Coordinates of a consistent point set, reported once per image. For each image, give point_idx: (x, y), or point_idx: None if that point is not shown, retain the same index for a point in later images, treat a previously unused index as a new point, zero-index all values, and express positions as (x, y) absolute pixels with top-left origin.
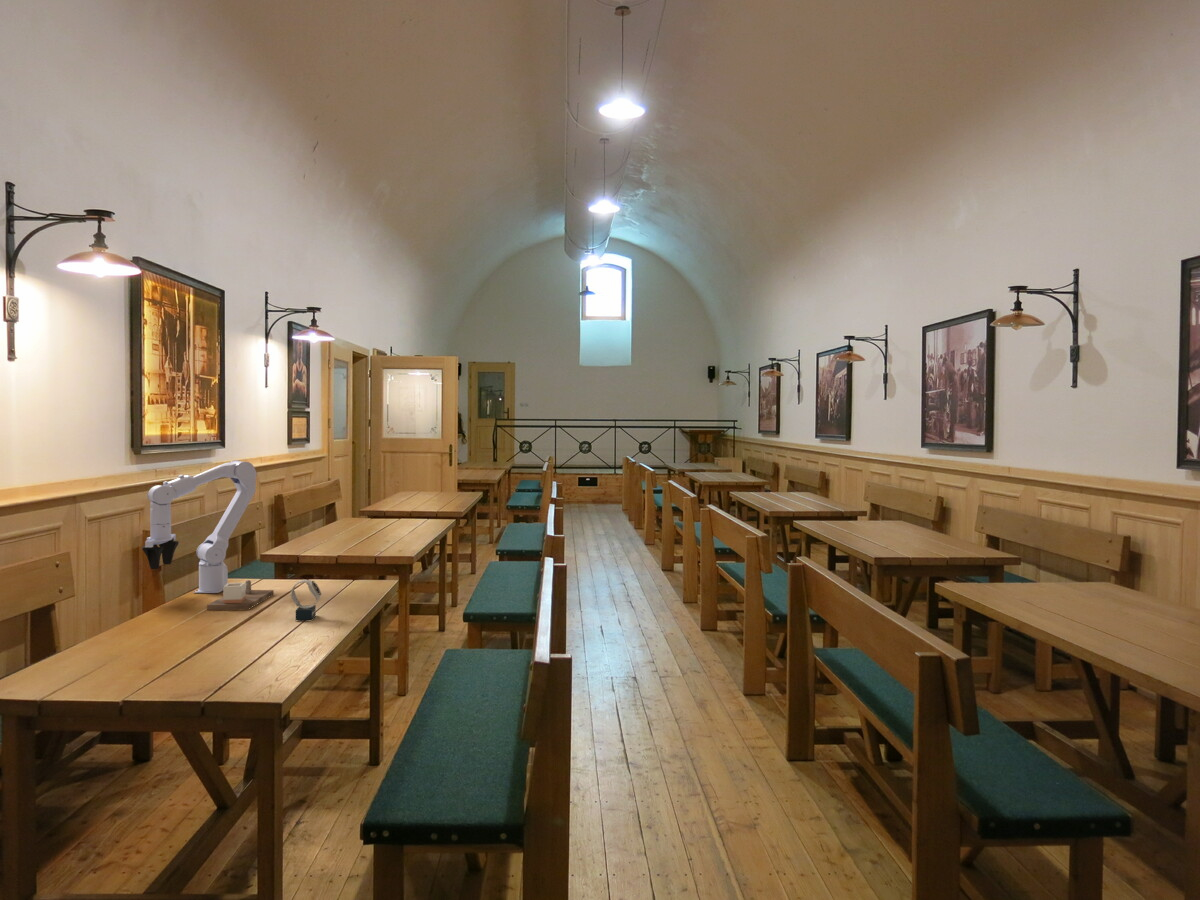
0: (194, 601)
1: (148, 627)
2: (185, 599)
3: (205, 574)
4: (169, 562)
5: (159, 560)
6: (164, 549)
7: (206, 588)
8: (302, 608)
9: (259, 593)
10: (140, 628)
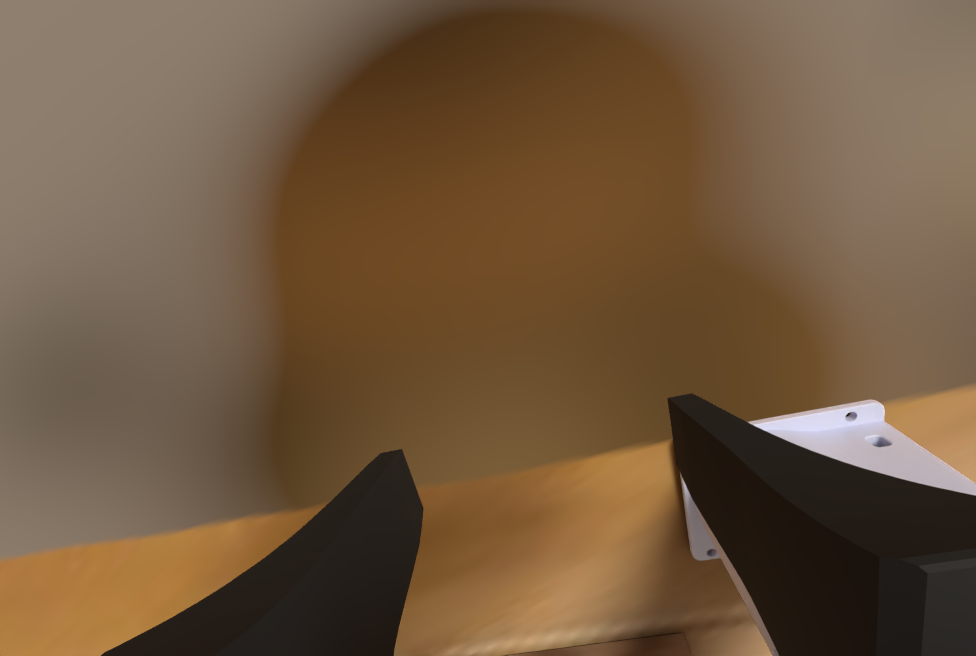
0: (494, 547)
1: (63, 636)
2: (522, 483)
3: (746, 594)
4: (686, 472)
5: (392, 610)
6: (783, 556)
7: (701, 517)
8: None
9: None
10: (36, 621)
